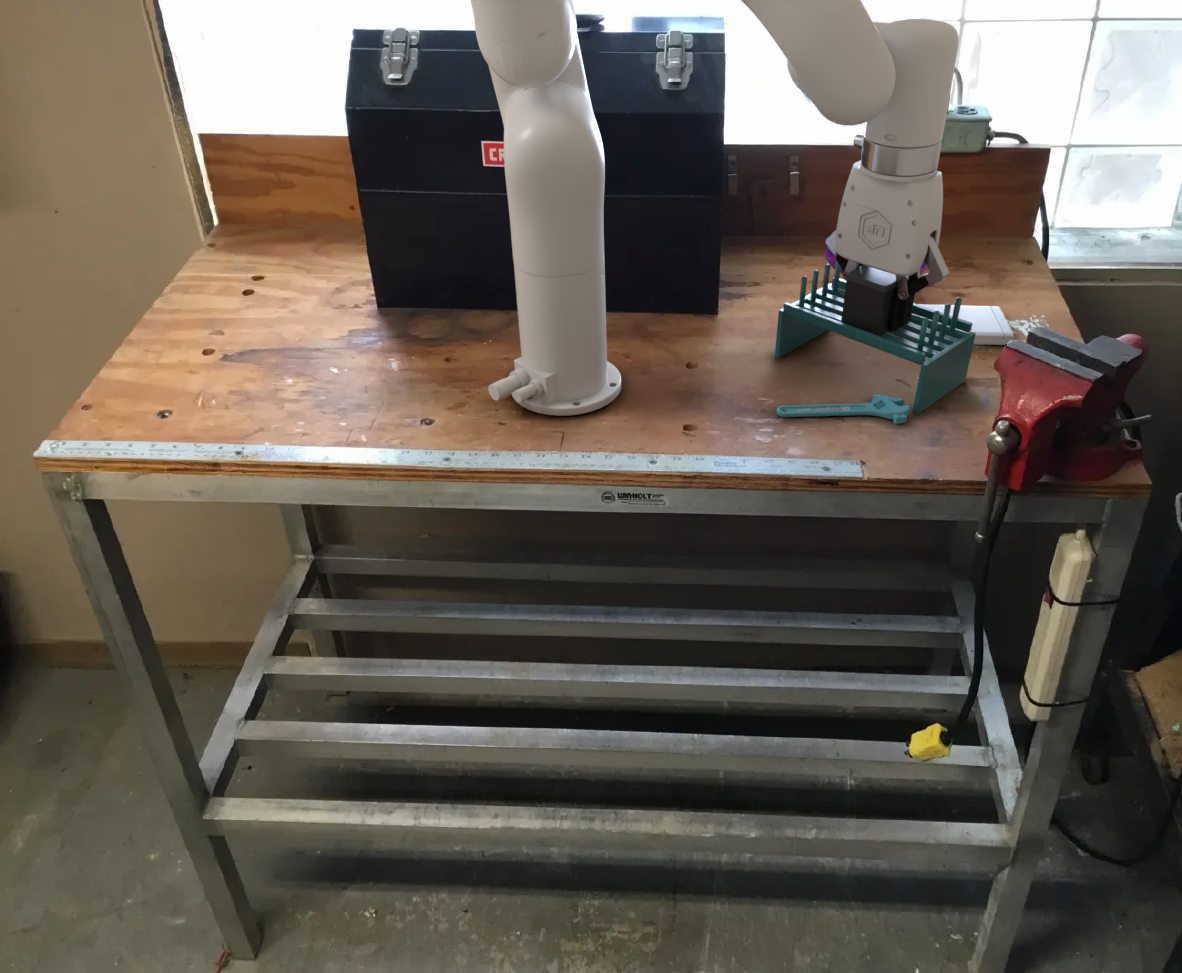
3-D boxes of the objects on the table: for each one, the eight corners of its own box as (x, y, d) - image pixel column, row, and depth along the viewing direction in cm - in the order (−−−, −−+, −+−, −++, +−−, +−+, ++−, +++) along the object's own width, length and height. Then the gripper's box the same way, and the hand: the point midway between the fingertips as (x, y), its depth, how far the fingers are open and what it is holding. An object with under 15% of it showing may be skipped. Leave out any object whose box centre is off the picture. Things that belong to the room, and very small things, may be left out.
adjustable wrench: (903, 391, 107) (915, 415, 103) (901, 399, 108) (913, 423, 104) (774, 394, 107) (781, 419, 103) (773, 402, 108) (780, 426, 104)
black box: (878, 338, 107) (886, 286, 103) (839, 323, 110) (845, 273, 106) (911, 318, 110) (920, 267, 107) (872, 304, 113) (880, 255, 110)
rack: (917, 415, 105) (933, 328, 99) (774, 356, 117) (781, 275, 110) (965, 380, 111) (983, 297, 105) (824, 327, 122) (834, 249, 116)
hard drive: (906, 332, 117) (1015, 334, 116) (896, 302, 124) (999, 303, 122) (904, 344, 118) (1012, 346, 117) (894, 314, 124) (996, 315, 123)
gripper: (808, 147, 102) (793, 307, 113) (957, 183, 92) (925, 356, 103) (850, 130, 106) (831, 287, 117) (997, 163, 96) (962, 331, 107)
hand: (876, 317), depth 110 cm, fingers closed on black box, 4 cm apart
